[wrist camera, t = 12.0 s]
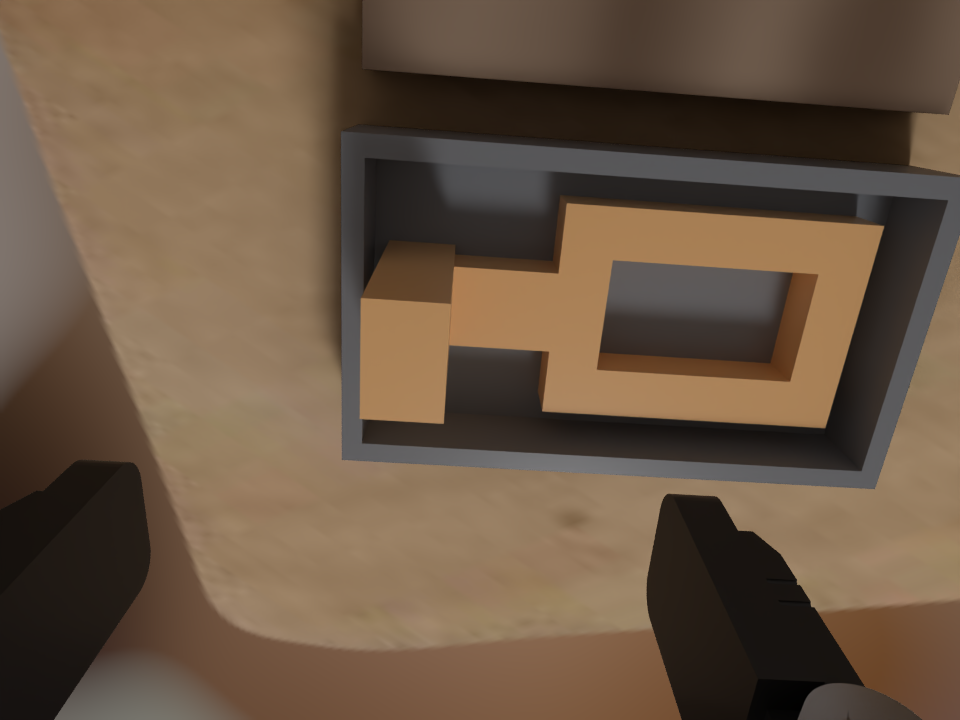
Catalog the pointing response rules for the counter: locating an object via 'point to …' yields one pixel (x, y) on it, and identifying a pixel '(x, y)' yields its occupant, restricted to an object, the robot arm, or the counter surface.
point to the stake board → (685, 47)
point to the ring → (582, 303)
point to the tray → (640, 300)
